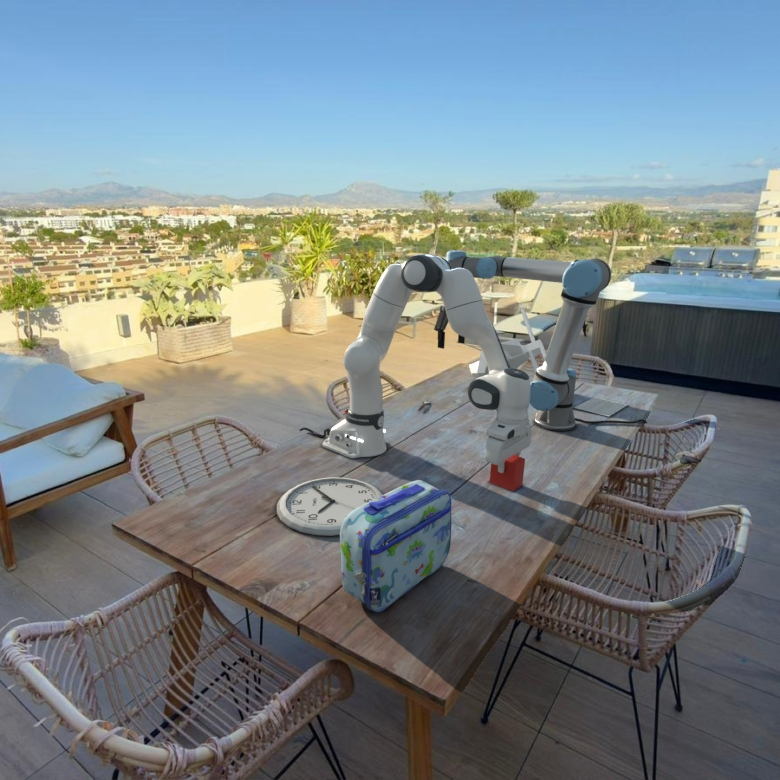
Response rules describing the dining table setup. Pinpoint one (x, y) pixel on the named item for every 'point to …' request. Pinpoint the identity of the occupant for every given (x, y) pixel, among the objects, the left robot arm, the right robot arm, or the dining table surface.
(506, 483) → the brick
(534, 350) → the white plastic object
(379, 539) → the lunch box
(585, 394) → the dining table surface
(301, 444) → the dining table surface
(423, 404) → the fork
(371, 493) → the wall clock
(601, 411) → the invitation card
